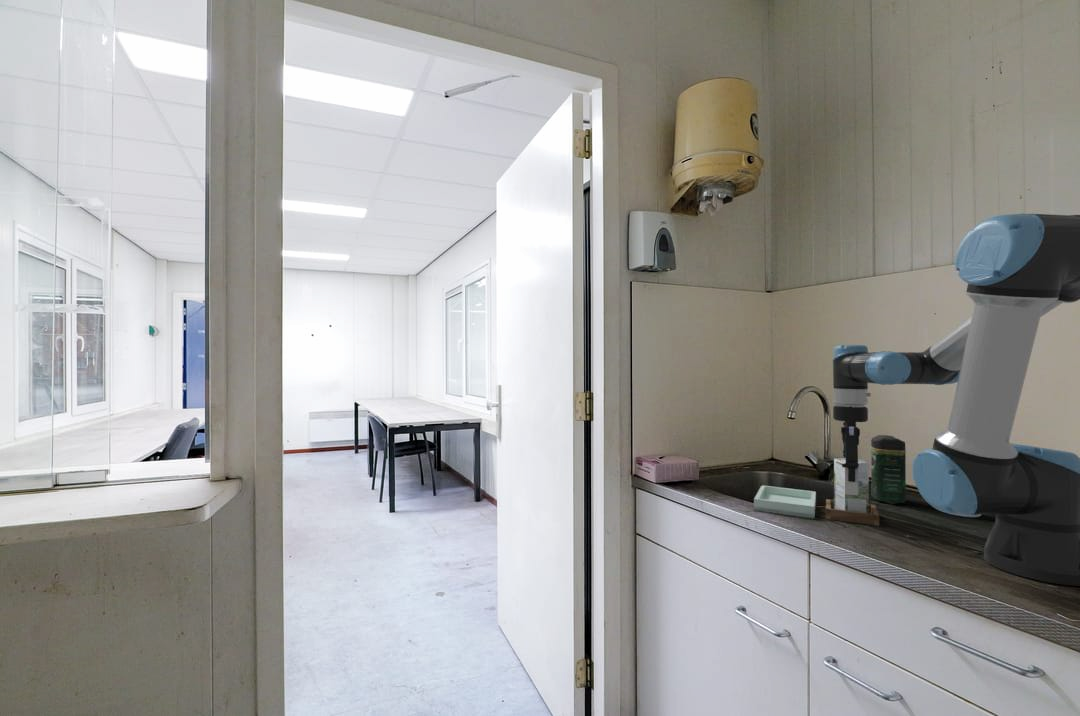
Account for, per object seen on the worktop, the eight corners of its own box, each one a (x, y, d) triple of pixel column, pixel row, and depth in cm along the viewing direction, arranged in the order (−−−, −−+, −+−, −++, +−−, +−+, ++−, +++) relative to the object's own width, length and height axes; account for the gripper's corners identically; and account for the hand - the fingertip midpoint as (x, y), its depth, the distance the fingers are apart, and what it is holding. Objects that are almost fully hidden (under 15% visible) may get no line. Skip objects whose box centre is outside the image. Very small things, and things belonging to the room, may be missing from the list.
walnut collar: (879, 526, 118) (879, 515, 118) (826, 518, 123) (826, 508, 123) (875, 514, 127) (875, 504, 127) (826, 508, 133) (826, 499, 133)
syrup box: (856, 513, 128) (856, 457, 128) (869, 520, 122) (869, 462, 122) (833, 513, 128) (833, 457, 129) (845, 519, 122) (844, 461, 123)
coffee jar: (909, 506, 136) (908, 438, 136) (875, 502, 139) (874, 436, 139) (900, 497, 144) (900, 434, 145) (868, 494, 148) (868, 432, 148)
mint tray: (814, 518, 123) (814, 506, 123) (754, 510, 130) (754, 498, 130) (815, 502, 139) (815, 491, 139) (761, 495, 146) (761, 485, 146)
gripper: (871, 409, 113) (871, 502, 113) (864, 403, 135) (864, 480, 134) (833, 408, 117) (833, 497, 117) (832, 401, 138) (832, 477, 138)
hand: (850, 488), depth 125 cm, fingers open, 13 cm apart
